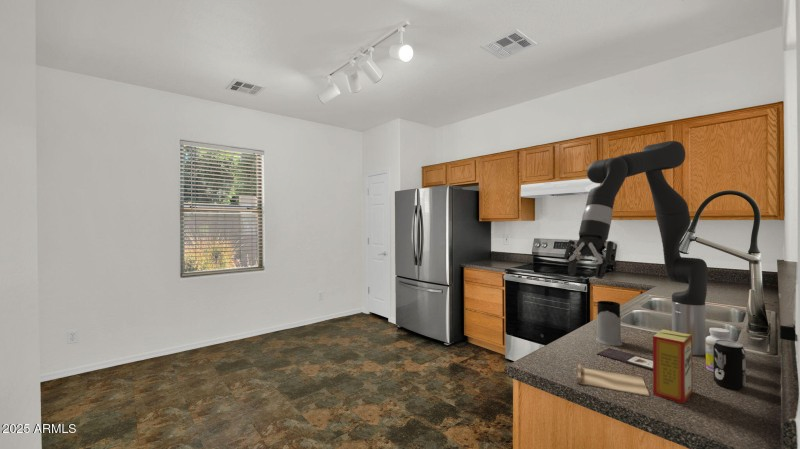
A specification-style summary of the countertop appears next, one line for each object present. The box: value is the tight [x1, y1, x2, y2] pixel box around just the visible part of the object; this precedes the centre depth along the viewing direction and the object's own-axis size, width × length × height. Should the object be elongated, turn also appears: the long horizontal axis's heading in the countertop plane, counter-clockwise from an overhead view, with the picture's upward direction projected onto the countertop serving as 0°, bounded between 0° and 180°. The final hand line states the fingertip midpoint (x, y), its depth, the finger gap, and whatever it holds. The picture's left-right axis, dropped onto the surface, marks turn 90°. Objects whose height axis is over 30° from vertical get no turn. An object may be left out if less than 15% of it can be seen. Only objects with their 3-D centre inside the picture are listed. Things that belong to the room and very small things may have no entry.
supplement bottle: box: [705, 327, 734, 373], centre depth 108 cm, size 7×7×13 cm
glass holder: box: [595, 300, 623, 347], centre depth 138 cm, size 9×14×15 cm, turn 143°
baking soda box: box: [652, 328, 694, 404], centre depth 95 cm, size 10×6×16 cm
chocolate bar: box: [597, 347, 653, 372], centre depth 118 cm, size 9×1×18 cm
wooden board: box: [577, 362, 650, 397], centre depth 103 cm, size 12×17×2 cm
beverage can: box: [713, 340, 747, 391], centre depth 99 cm, size 7×7×12 cm
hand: (584, 276), depth 101 cm, fingers open, 8 cm apart
